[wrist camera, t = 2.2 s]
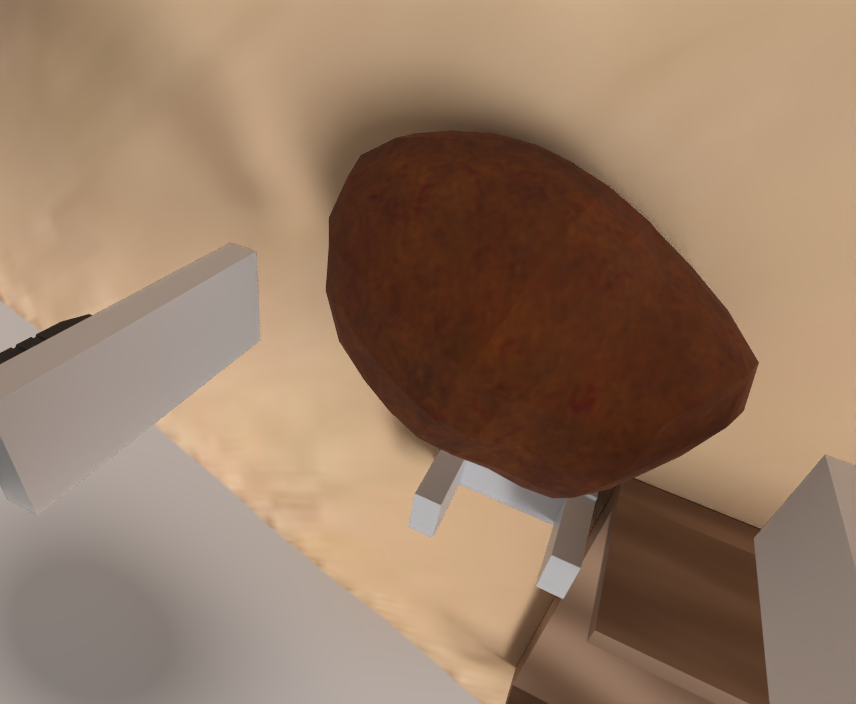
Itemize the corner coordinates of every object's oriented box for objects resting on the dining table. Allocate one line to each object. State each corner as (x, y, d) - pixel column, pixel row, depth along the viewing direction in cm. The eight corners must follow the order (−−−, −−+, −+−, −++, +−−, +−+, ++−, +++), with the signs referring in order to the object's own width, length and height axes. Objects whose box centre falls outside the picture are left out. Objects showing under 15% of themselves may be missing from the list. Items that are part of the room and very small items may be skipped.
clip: (452, 425, 22) (415, 490, 19) (600, 486, 20) (582, 564, 18) (443, 465, 23) (407, 529, 21) (580, 523, 22) (561, 601, 19)
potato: (633, 443, 19) (596, 662, 13) (361, 259, 19) (203, 387, 13) (827, 285, 14) (915, 521, 8) (455, 42, 14) (270, 89, 8)
